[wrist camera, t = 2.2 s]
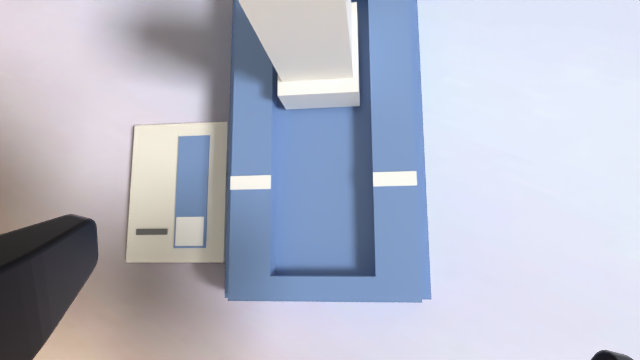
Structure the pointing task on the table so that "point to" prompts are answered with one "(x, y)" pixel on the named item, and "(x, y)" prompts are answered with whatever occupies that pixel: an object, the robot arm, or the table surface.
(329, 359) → the table surface
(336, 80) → the switch tab
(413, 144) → the blue rectangular tray
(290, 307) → the table surface
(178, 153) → the label tile
